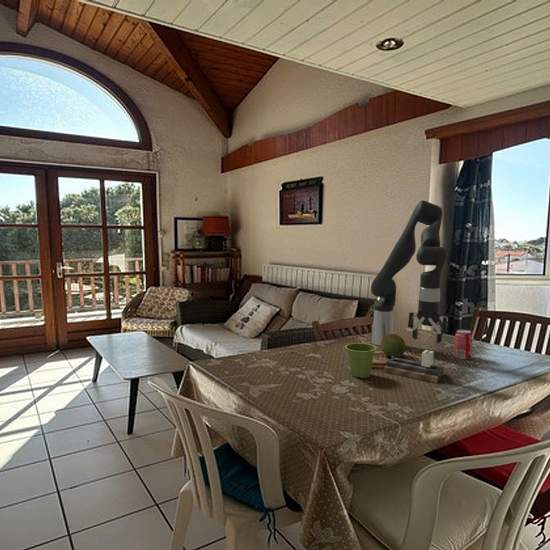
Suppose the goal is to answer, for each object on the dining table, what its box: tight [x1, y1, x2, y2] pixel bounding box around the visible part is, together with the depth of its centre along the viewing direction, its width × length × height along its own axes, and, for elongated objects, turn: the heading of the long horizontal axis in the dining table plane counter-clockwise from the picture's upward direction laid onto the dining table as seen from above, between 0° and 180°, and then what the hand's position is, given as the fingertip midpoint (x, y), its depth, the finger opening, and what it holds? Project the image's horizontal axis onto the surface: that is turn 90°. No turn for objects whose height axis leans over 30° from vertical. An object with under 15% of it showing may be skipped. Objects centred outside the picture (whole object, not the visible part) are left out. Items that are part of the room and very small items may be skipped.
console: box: [383, 357, 446, 384], centre depth 155 cm, size 20×12×4 cm, turn 53°
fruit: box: [379, 333, 407, 358], centre depth 176 cm, size 12×12×10 cm
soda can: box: [453, 329, 473, 360], centre depth 175 cm, size 7×7×12 cm
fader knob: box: [421, 349, 435, 368], centre depth 152 cm, size 3×5×7 cm, turn 143°
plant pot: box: [344, 342, 377, 379], centre depth 153 cm, size 12×12×11 cm
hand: (426, 341), depth 151 cm, fingers open, 8 cm apart
